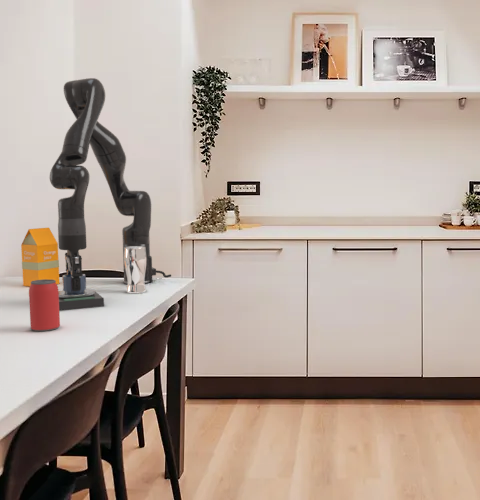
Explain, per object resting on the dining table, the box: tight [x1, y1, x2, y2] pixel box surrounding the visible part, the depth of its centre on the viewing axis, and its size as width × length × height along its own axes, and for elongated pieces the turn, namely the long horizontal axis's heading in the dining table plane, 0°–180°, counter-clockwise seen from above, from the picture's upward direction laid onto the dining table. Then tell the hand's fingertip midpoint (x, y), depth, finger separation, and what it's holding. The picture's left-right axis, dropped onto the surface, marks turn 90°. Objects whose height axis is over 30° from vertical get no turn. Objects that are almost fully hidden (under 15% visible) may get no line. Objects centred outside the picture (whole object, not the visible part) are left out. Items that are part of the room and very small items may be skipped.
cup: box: [61, 273, 87, 293], centre depth 183 cm, size 6×6×5 cm
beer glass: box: [124, 246, 147, 294], centre depth 203 cm, size 7×7×15 cm
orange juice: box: [20, 227, 61, 287], centre depth 215 cm, size 8×9×20 cm
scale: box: [59, 291, 105, 312], centre depth 183 cm, size 13×15×3 cm
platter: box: [58, 288, 96, 298], centre depth 184 cm, size 11×11×1 cm
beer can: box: [28, 279, 61, 332], centre depth 152 cm, size 7×7×12 cm
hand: (74, 288), depth 183 cm, fingers closed on cup, 6 cm apart
